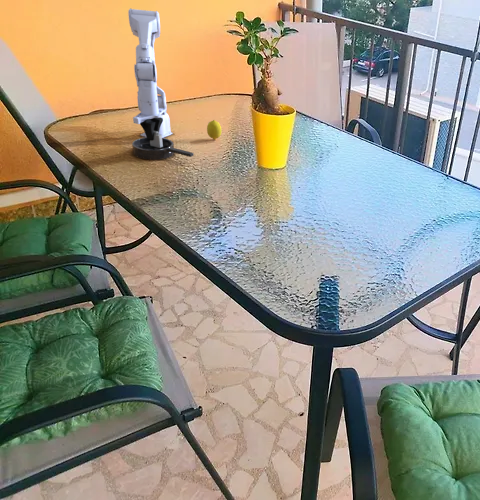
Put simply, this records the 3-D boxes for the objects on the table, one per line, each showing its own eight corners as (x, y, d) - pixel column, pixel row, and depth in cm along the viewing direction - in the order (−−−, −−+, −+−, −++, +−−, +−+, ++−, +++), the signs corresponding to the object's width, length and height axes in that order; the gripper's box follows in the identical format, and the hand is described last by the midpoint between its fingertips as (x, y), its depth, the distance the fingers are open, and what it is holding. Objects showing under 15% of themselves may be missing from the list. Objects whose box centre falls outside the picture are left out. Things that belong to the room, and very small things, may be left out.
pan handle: (171, 149, 165) (171, 147, 164) (193, 155, 163) (193, 152, 163) (168, 151, 163) (168, 148, 163) (190, 157, 162) (190, 154, 161)
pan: (150, 143, 174) (149, 134, 172) (181, 151, 171) (181, 142, 169) (124, 154, 163) (123, 144, 161) (157, 163, 160) (156, 153, 158)
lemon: (223, 138, 188) (223, 119, 184) (218, 143, 183) (218, 123, 179) (210, 136, 188) (209, 117, 184) (205, 140, 183) (204, 120, 179)
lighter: (163, 146, 166) (161, 124, 161) (160, 147, 164) (157, 125, 160) (146, 142, 167) (143, 120, 163) (143, 143, 166) (140, 121, 161)
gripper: (144, 107, 150) (148, 147, 157) (172, 98, 162) (175, 135, 169) (125, 102, 152) (131, 142, 159) (155, 94, 164) (158, 131, 171)
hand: (152, 138), depth 164 cm, fingers closed on lighter, 2 cm apart
